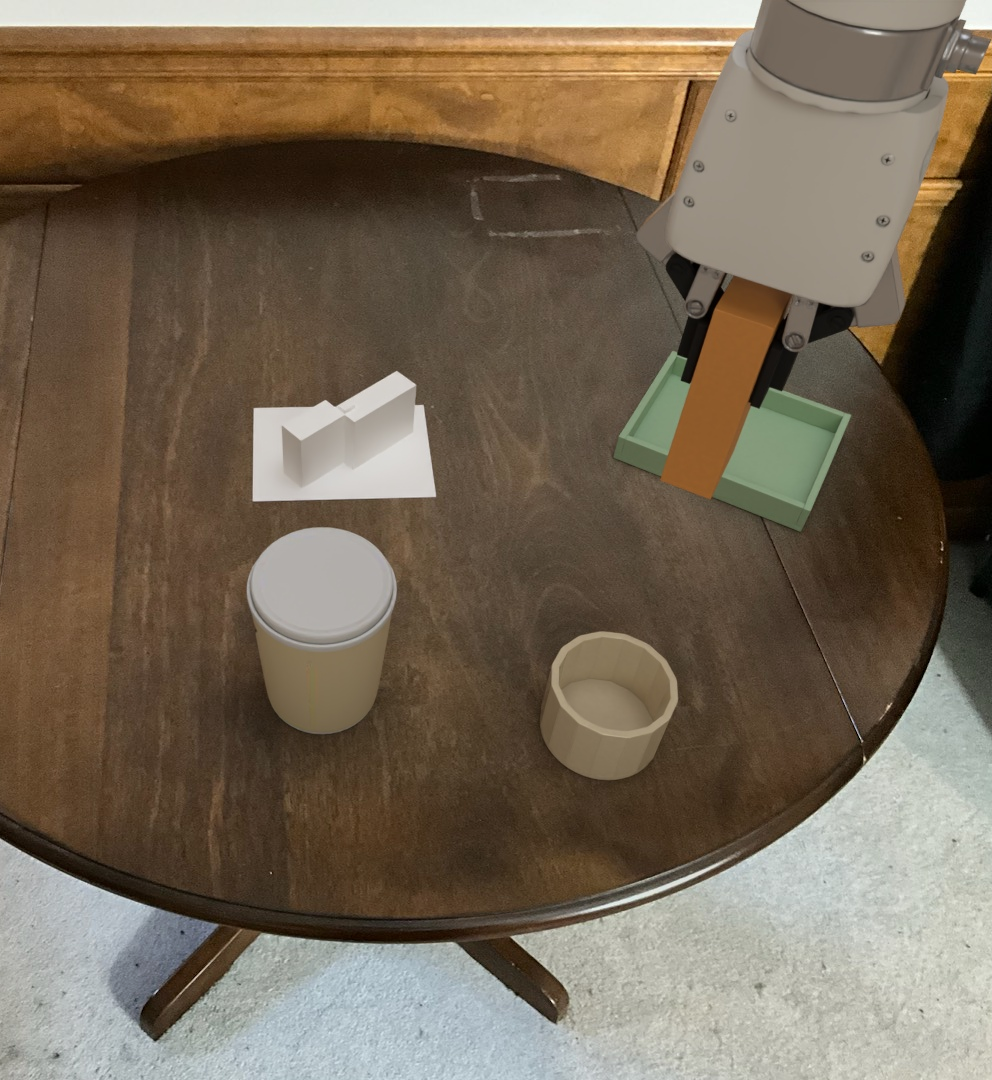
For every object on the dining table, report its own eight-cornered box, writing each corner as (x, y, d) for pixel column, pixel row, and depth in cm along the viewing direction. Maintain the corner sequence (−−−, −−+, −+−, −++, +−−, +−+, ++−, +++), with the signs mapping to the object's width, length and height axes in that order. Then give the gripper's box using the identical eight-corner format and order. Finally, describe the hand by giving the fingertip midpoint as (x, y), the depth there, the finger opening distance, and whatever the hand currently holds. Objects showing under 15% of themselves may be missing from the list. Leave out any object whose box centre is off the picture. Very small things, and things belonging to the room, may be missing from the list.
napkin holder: (423, 403, 98) (427, 352, 94) (438, 496, 90) (443, 446, 86) (251, 408, 97) (248, 356, 92) (252, 503, 89) (248, 452, 85)
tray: (841, 436, 97) (851, 414, 95) (800, 532, 89) (810, 511, 87) (666, 371, 102) (672, 350, 100) (612, 457, 94) (618, 436, 92)
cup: (675, 709, 78) (695, 664, 74) (633, 801, 73) (651, 758, 69) (567, 660, 80) (580, 613, 76) (520, 745, 75) (531, 700, 71)
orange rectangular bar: (733, 452, 65) (798, 281, 56) (710, 500, 62) (774, 328, 53) (684, 434, 66) (740, 263, 57) (659, 480, 63) (714, 308, 54)
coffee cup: (311, 613, 82) (309, 501, 73) (415, 677, 79) (426, 568, 70) (227, 698, 77) (214, 589, 68) (335, 770, 73) (336, 666, 64)
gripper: (1068, 52, 45) (896, 393, 59) (686, -40, 50) (609, 295, 64) (1046, 130, 41) (865, 479, 55) (628, 21, 46) (559, 368, 60)
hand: (728, 377), depth 59 cm, fingers closed on orange rectangular bar, 3 cm apart
